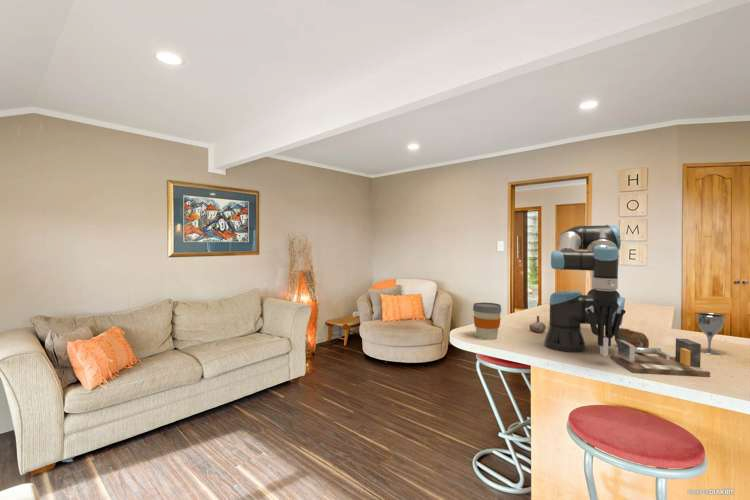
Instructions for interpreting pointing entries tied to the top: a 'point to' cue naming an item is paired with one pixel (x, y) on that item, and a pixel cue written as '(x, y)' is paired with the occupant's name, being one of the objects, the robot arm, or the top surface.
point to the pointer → (685, 356)
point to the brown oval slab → (632, 338)
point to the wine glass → (710, 328)
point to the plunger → (637, 351)
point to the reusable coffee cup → (487, 319)
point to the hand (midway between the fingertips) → (604, 354)
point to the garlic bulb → (538, 326)
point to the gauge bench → (667, 362)
